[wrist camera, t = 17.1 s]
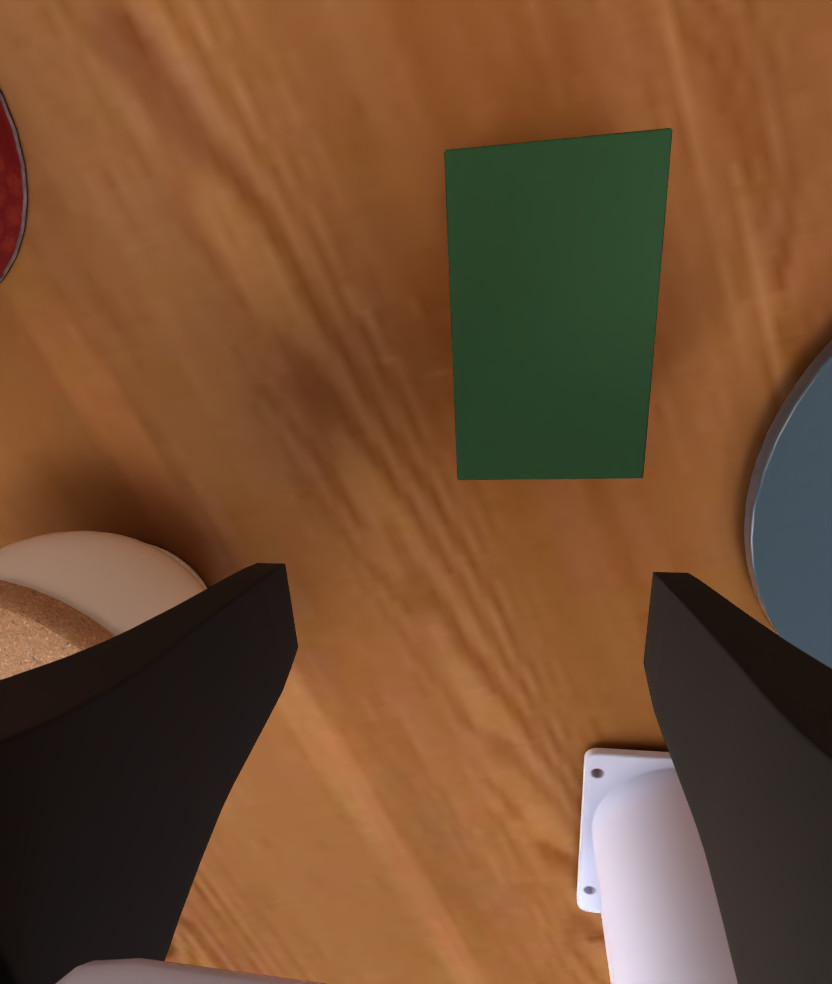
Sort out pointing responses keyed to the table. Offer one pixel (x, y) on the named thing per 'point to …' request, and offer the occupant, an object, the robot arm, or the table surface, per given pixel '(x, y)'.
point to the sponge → (555, 303)
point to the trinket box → (81, 593)
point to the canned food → (10, 191)
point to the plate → (796, 515)
